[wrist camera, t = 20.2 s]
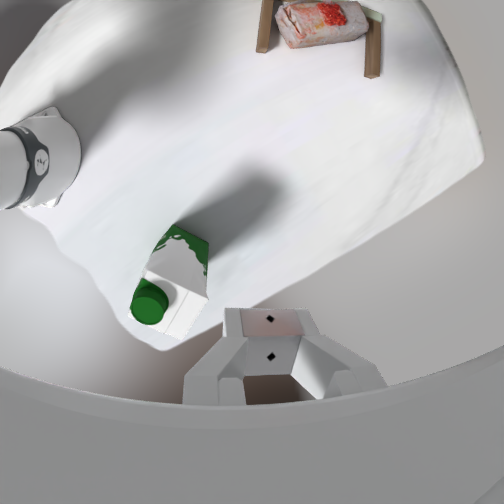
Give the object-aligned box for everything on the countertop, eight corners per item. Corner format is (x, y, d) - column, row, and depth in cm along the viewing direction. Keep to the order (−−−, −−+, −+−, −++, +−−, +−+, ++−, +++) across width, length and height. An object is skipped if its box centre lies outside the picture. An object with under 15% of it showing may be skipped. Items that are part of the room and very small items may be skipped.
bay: (255, 52, 35) (258, 45, 32) (263, -10, 30) (267, -19, 27) (371, 78, 39) (381, 76, 35) (372, 19, 33) (381, 14, 30)
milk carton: (170, 217, 45) (141, 271, 27) (216, 241, 48) (217, 308, 30) (149, 258, 47) (117, 327, 29) (193, 280, 50) (184, 357, 32)
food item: (285, 55, 36) (302, 37, 27) (268, 18, 33) (281, -7, 24) (354, 44, 36) (382, 29, 27) (337, 9, 32) (361, -11, 23)
